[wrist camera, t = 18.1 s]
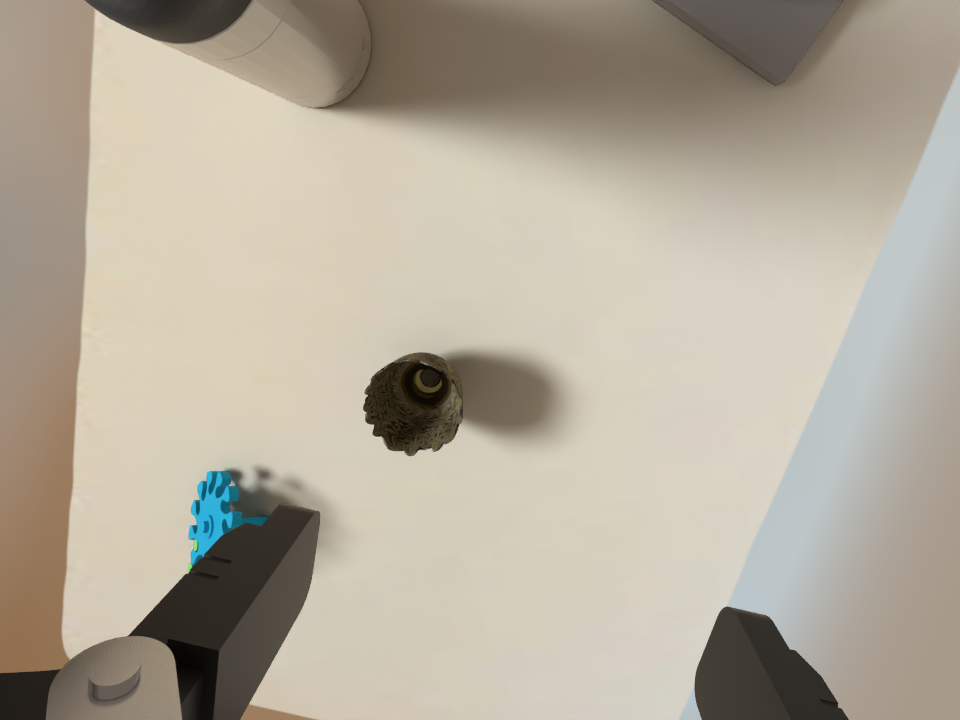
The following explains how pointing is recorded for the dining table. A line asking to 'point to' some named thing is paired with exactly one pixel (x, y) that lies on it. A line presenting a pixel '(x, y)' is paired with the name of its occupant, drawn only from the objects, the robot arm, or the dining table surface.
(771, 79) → the flange board
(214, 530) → the blue toy figure
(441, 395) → the cup
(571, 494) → the dining table surface
